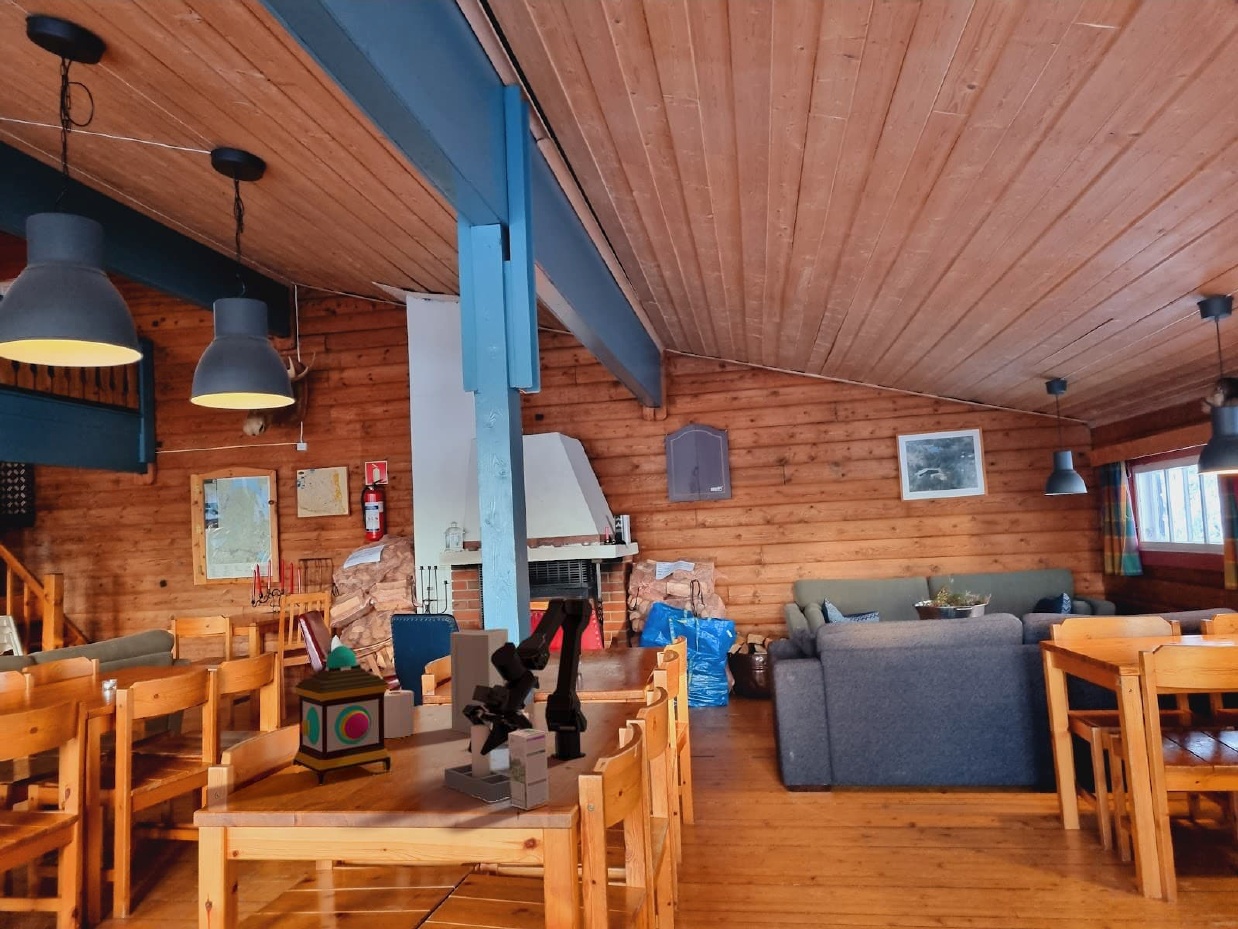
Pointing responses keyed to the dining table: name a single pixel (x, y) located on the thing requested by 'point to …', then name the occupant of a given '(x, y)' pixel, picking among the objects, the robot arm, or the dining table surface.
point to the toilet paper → (398, 713)
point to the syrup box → (528, 767)
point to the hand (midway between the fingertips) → (475, 753)
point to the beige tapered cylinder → (480, 762)
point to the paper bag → (472, 670)
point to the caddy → (478, 783)
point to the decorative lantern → (341, 717)
